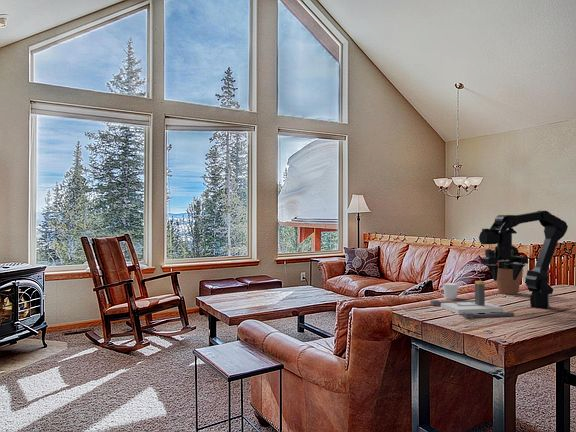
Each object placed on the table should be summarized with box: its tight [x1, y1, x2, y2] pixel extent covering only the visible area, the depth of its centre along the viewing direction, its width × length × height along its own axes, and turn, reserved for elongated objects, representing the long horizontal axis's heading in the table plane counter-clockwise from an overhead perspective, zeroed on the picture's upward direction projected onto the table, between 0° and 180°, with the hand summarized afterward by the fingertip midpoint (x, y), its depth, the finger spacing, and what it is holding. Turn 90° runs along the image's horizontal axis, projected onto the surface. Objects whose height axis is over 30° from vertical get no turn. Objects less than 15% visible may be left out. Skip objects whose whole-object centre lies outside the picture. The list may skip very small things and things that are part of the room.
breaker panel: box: [440, 301, 504, 315], centre depth 186 cm, size 20×14×2 cm
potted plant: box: [495, 245, 524, 296], centre depth 227 cm, size 14×14×25 cm
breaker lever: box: [474, 280, 486, 305], centre depth 187 cm, size 2×3×10 cm
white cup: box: [442, 282, 459, 300], centre depth 214 cm, size 7×7×7 cm
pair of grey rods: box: [430, 299, 515, 320], centre depth 186 cm, size 21×28×2 cm
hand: (504, 280), depth 189 cm, fingers open, 9 cm apart
